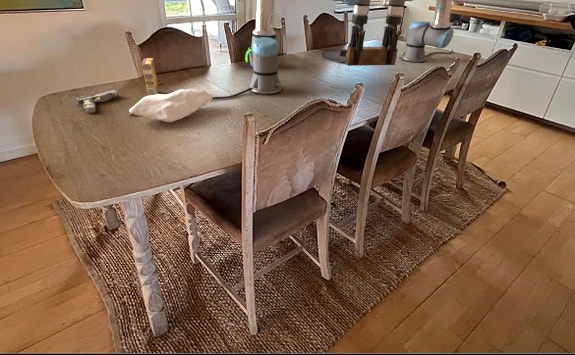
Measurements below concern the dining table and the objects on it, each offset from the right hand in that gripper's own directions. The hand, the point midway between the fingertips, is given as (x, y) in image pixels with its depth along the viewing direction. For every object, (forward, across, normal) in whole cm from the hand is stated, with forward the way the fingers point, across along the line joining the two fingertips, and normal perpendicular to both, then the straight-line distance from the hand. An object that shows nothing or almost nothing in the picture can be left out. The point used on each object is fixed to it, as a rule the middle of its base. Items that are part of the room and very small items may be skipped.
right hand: (386, 62), depth 193 cm
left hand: (0, 0, +18) cm, 18 cm away
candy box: (+9, -15, +118) cm, 119 cm away
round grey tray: (+10, +48, +5) cm, 49 cm away
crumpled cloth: (+9, -38, +107) cm, 114 cm away
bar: (+1, 0, +9) cm, 9 cm away
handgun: (+9, -25, +138) cm, 140 cm away
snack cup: (+9, +29, +66) cm, 72 cm away
